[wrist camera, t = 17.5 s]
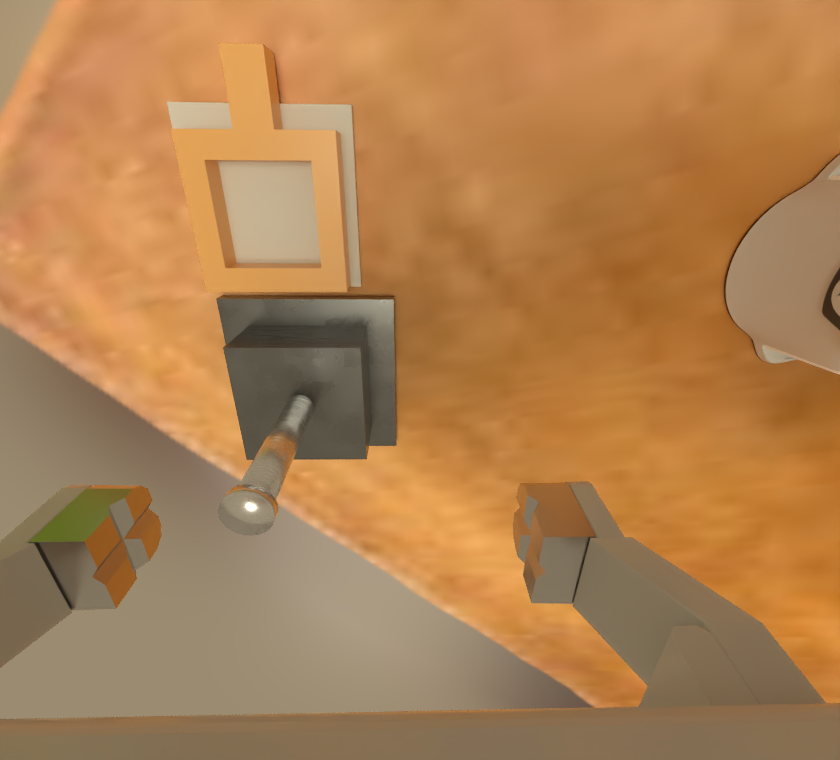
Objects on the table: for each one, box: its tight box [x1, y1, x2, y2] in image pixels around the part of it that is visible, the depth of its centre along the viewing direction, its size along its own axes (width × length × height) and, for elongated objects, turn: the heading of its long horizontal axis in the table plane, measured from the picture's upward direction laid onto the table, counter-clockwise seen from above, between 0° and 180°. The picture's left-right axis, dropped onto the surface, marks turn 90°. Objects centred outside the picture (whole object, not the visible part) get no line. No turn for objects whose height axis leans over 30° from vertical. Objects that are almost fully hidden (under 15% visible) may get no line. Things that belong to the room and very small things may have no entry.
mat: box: [167, 102, 361, 287], centre depth 35 cm, size 14×14×1 cm
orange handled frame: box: [171, 43, 351, 292], centre depth 33 cm, size 12×17×2 cm
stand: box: [217, 296, 397, 535], centre depth 33 cm, size 16×16×20 cm
